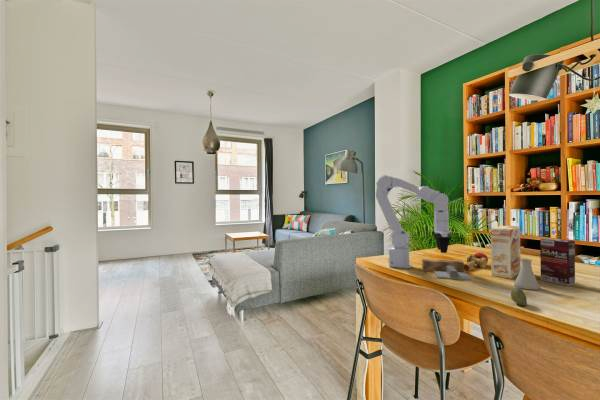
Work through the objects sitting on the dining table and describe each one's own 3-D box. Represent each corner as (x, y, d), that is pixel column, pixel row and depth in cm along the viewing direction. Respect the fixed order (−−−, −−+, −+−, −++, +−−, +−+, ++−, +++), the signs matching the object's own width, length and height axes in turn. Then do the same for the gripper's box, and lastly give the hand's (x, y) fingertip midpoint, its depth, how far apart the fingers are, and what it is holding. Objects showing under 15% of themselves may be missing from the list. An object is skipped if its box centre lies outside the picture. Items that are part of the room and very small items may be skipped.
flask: (542, 291, 93) (541, 262, 93) (515, 288, 96) (514, 260, 96) (537, 285, 99) (537, 258, 99) (512, 283, 103) (512, 256, 103)
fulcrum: (437, 278, 111) (437, 270, 111) (434, 272, 119) (433, 264, 119) (471, 280, 107) (471, 272, 107) (465, 274, 115) (465, 266, 115)
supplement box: (539, 280, 105) (539, 238, 105) (547, 278, 107) (546, 237, 107) (569, 286, 97) (568, 241, 97) (576, 284, 99) (575, 240, 99)
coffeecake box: (511, 279, 107) (510, 229, 107) (490, 275, 113) (489, 228, 113) (521, 272, 117) (520, 226, 117) (501, 269, 122) (500, 225, 122)
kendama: (478, 275, 117) (494, 263, 128) (473, 261, 118) (490, 250, 128) (459, 275, 124) (476, 263, 134) (455, 261, 124) (472, 250, 135)
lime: (524, 302, 84) (524, 285, 84) (533, 308, 79) (533, 291, 79) (507, 301, 85) (507, 285, 85) (515, 307, 81) (515, 290, 81)
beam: (423, 271, 123) (423, 261, 123) (422, 268, 126) (422, 259, 126) (464, 273, 118) (463, 262, 118) (461, 270, 122) (461, 260, 122)
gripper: (455, 221, 114) (455, 254, 114) (448, 219, 128) (449, 248, 128) (436, 221, 116) (437, 254, 116) (431, 219, 130) (432, 248, 130)
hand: (442, 251), depth 122 cm, fingers open, 7 cm apart
